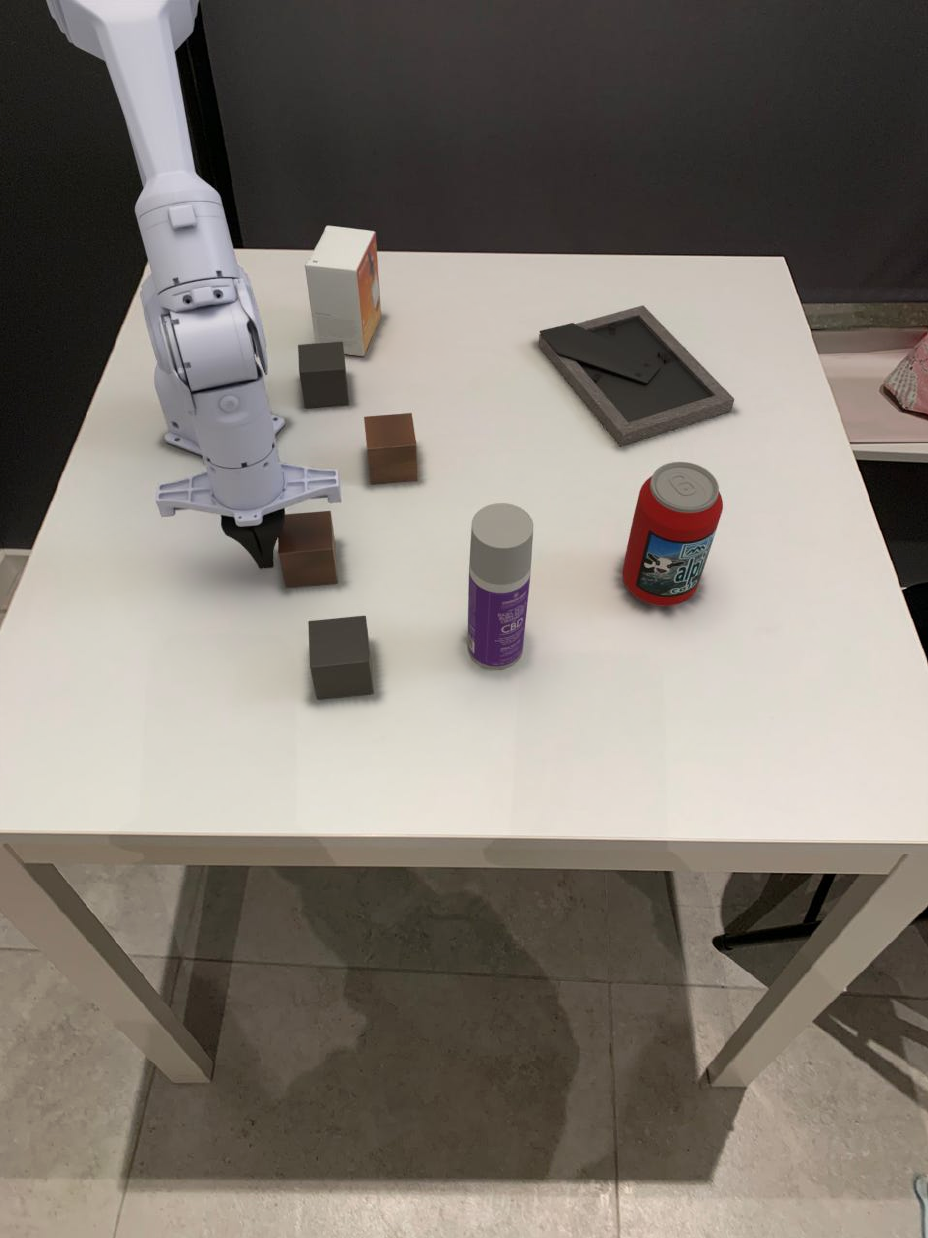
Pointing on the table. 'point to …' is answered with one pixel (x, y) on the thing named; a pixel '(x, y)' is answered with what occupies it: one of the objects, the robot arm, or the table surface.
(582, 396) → the picture frame
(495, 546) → the container
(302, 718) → the table surface
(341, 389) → the charcoal end block
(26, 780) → the table surface
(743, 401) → the table surface
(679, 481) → the beverage can
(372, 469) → the walnut block
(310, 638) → the charcoal front block
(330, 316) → the small box
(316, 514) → the walnut block
